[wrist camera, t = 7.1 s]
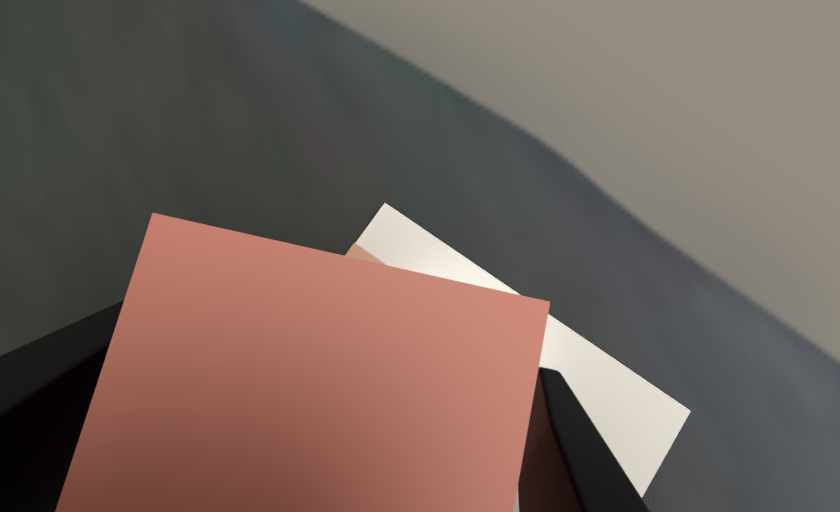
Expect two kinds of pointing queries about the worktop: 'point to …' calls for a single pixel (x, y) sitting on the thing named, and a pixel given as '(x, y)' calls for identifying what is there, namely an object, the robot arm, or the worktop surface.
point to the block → (304, 385)
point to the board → (549, 352)
